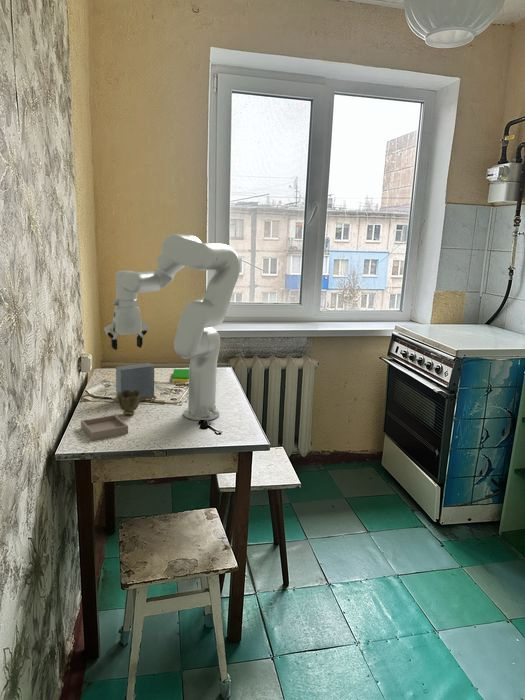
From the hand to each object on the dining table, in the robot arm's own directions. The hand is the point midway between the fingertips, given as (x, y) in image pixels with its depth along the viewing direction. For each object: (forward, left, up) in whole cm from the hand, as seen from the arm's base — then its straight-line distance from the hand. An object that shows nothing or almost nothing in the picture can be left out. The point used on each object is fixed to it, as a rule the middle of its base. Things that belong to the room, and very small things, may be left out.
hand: (127, 348), depth 186 cm
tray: (-32, +20, -18) cm, 42 cm away
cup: (-22, +8, -18) cm, 30 cm away
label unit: (-8, 0, -18) cm, 20 cm away
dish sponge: (+11, -29, -19) cm, 36 cm away
